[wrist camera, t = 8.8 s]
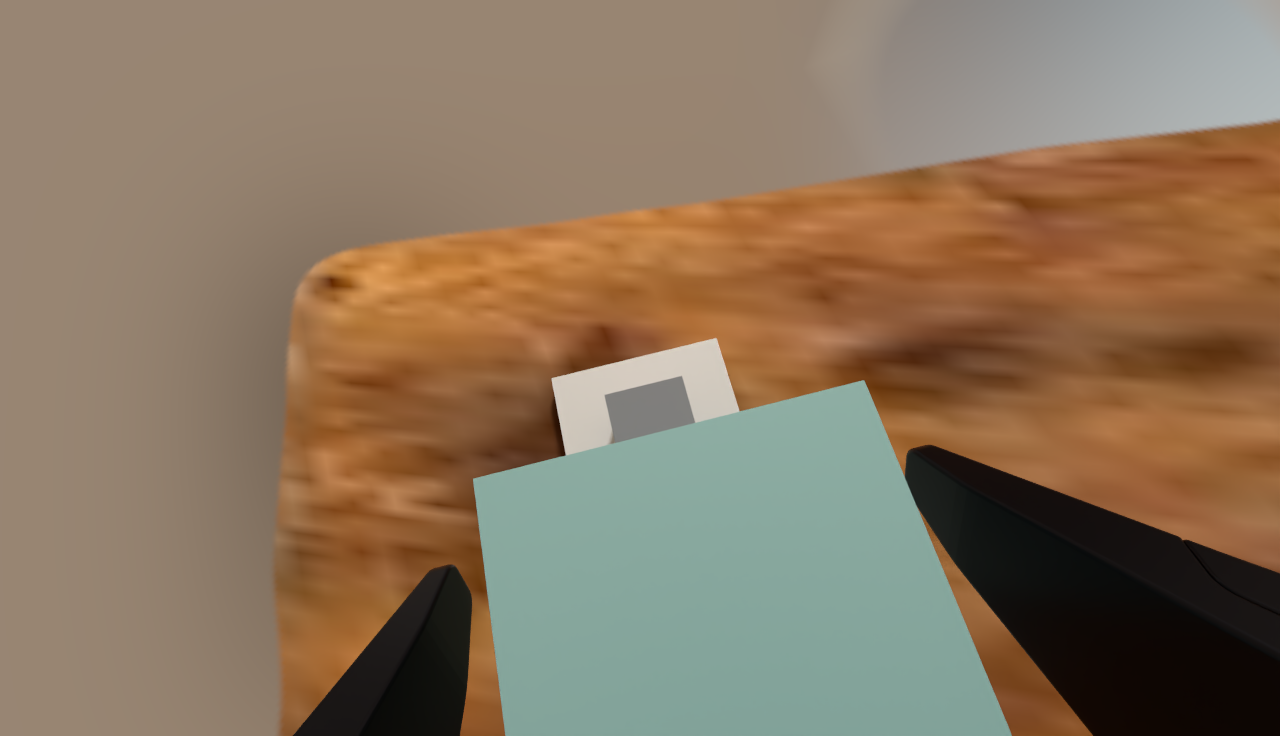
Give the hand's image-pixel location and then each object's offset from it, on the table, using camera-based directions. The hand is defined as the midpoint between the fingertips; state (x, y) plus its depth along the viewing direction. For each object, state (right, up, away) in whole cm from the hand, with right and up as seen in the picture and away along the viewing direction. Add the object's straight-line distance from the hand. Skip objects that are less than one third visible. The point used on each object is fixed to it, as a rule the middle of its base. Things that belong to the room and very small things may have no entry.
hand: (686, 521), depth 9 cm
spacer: (+1, -4, +8) cm, 9 cm away
